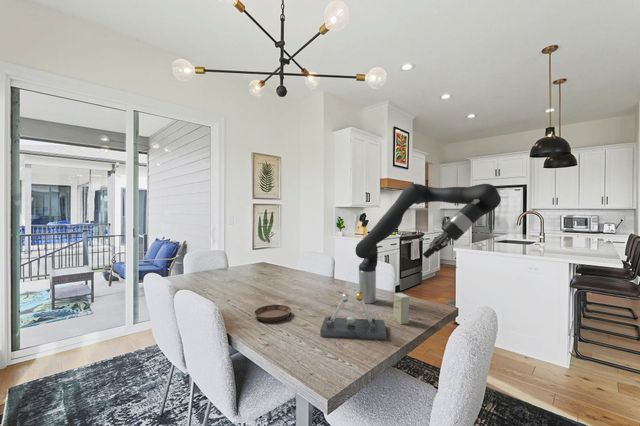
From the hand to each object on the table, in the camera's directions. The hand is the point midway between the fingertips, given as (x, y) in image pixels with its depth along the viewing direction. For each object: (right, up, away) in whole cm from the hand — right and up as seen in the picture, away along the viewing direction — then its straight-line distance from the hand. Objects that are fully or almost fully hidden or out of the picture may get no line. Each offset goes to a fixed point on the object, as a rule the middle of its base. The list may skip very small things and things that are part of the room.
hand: (424, 256), depth 119 cm
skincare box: (-5, -32, +15) cm, 36 cm away
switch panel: (-28, -32, +5) cm, 43 cm away
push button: (-29, -30, +5) cm, 42 cm away
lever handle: (-20, -29, +4) cm, 36 cm away
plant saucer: (-65, -33, +23) cm, 76 cm away
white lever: (-38, -30, +7) cm, 49 cm away
